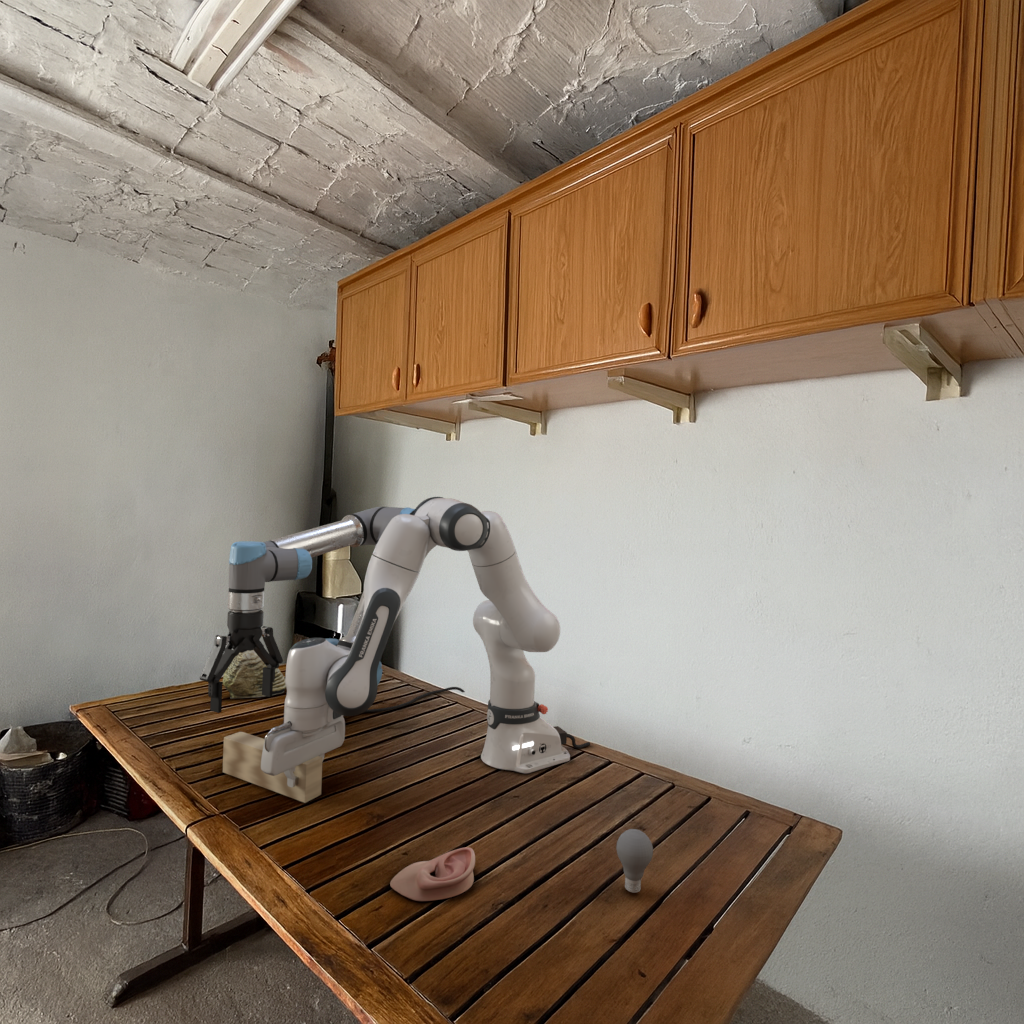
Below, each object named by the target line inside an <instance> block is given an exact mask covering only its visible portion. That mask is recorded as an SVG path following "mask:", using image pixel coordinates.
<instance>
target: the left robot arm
mask: <svg viewBox="0 0 1024 1024" xmlns="http://www.w3.org/2000/svg"><path fill="white" fill-rule="evenodd" d="M415 509H416V508H412V507H395V506H376V507H372V508H368V509H364V510H361V511H358V512H354V513H350V514H347V515H345V516H344V517H343V518H342V519H341V520H338V521H335V522H332V523H327V524H324V525H320V526H316V527H313V528H310V529H306V530H302V531H298V532H295V533H290V534H288V535H284V536H281V537H277V538H273V539H270V540H266V541H257V540H256V541H251V540H249V541H247V540H242V541H240V540H239V541H235V542H233V543H232V544H231V546H230V551H229V559H228V593H227V609H228V610H229V611H227V618H226V619H227V620H226V626H227V629H228V633H227V635H220V634H216V635H215V636H214V641H213V646H212V648H211V651H210V653H209V656H208V657H207V660H206V662H205V664H204V666H203V669H202V671H201V673H200V676H199V680H200V681H203V682H206V683H207V685H208V687H207V696H208V698H210V704H209V705H210V707H209V708H210V710H209V711H211V712H214V713H217V714H220V713H222V708H223V707H222V706H223V705H222V703H223V681H220V680H221V679H222V678H223V677H224V676H223V675H224V673H225V671H226V670H227V668H228V667H229V665H230V664H231V662H232V661H233V659H234V658H235V656H237V655H238V654H239V653H240V652H241V653H242V652H245V651H247V650H248V651H251V650H254V651H255V652H256V654H257V655H258V656H259V657H260V659H261V660H262V661H263V662H264V664H265V665H266V666H267V667H263V677H262V695H264V696H265V697H268V698H271V697H273V695H272V692H273V681H274V680H275V668H278V669H279V667H280V665H281V664H283V662H284V659H283V656H282V654H281V651H280V649H279V647H278V644H277V641H276V639H275V636H274V628H273V627H271V626H266V625H264V613H265V612H264V610H263V608H264V606H265V586H266V583H271V582H284V581H297V580H301V579H302V580H303V579H305V578H307V577H309V575H310V574H311V572H312V569H313V558H315V557H318V556H321V555H324V554H327V553H330V552H334V551H337V550H340V549H343V548H347V547H352V548H358V547H361V546H374V548H375V547H376V545H377V543H378V541H379V539H380V537H381V535H382V533H383V532H384V530H385V528H386V527H387V525H388V524H389V522H390V521H391V519H392V518H393V517H395V516H397V515H400V514H410V513H411V512H412V511H413V510H415ZM363 612H364V590H363V592H362V594H361V597H360V599H359V602H358V604H357V607H356V610H355V612H354V615H353V617H352V620H351V623H350V626H349V629H348V632H347V634H346V635H345V636H342V637H341V638H339V639H337V638H331V637H329V638H325V639H326V640H327V641H328V642H330V643H331V644H333V645H335V646H337V647H339V648H342V649H345V650H348V651H350V650H351V648H352V645H353V643H354V640H355V637H356V635H357V632H358V630H359V627H360V624H361V621H362V617H363ZM261 638H262V640H263V643H264V644H263V643H262V641H261ZM265 647H266V648H265ZM382 667H383V664H382V662H381V661H380V662H379V665H378V669H377V687H378V686H379V685H380V682H381V680H382V677H383V668H382ZM453 690H454V691H455V690H456V691H459V692H461V693H465V692H466V691H465V690H464V689H463V688H461V687H458V686H450V687H446V688H442V689H438V690H437V689H436V690H432V691H428V692H426V693H423V694H420V695H417V696H416V697H415V698H414V697H413V698H412V699H411V700H409V701H406V702H403V703H400V704H397V705H393V706H388V707H381V708H372V709H370V708H369V709H368V710H366V711H365V712H363V713H362V714H367V713H368V714H369V713H379V712H387V711H392V710H393V711H394V710H396V709H400V708H403V707H407V706H408V705H411V704H413V703H415V702H417V701H418V700H421V699H423V698H426V697H428V696H431V695H435V694H440V693H444V692H449V691H453Z"/></svg>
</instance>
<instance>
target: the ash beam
mask: <svg viewBox="0 0 1024 1024" xmlns="http://www.w3.org/2000/svg"><path fill="white" fill-rule="evenodd" d="M264 742H265V738H262V737H260V736H257V735H253V734H250V733H248V732H245V731H238V732H235V733H232V734H229V735H226V736H224V737H223V745H222V746H223V749H222V750H223V751H222V773H224V774H226V775H229V776H232V777H234V778H236V779H240V780H243V781H245V782H248V783H251V784H253V785H255V786H258V787H261V788H264V789H266V790H269V791H272V792H275V793H277V794H280V795H283V796H285V797H288V798H290V799H293V800H296V801H298V802H301V803H303V804H306V803H308V802H309V801H312V800H314V799H315V798H318V797H320V796H321V795H322V785H323V784H322V783H323V781H322V780H323V762H322V759H323V757H320V756H317V757H315V758H313V759H310V760H308V761H306V762H304V763H302V764H300V765H298V766H296V767H295V771H294V772H293V773H294V775H295V776H297V777H299V781H298V785H296V786H294V787H289V786H288V785H287V777H286V775H285V774H284V772H282V773H280V774H278V775H275V776H272V775H268V774H266V773H264V772H263V771H262V770H261V758H262V751H263V746H264Z"/></svg>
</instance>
